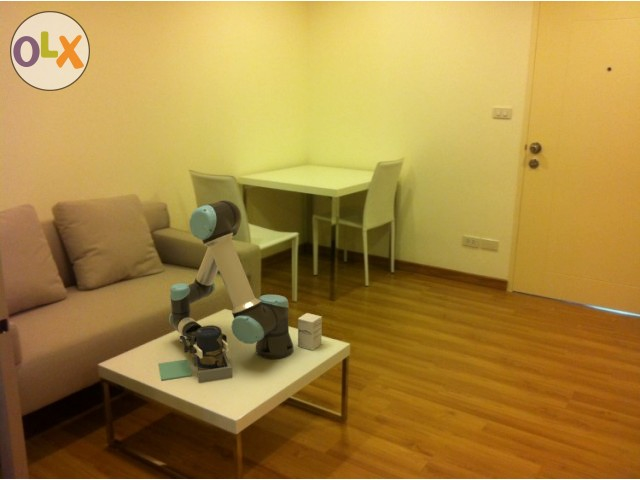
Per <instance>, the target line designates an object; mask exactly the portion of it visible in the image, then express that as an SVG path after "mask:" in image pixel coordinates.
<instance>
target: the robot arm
mask: <svg viewBox="0 0 640 480" xmlns="http://www.w3.org/2000/svg"><path fill="white" fill-rule="evenodd" d="M241 224H242V213H241V209H240V208H239V206H238V205H237V204H236V203H235V202H233V201H230V200H220V201H217V202H212V203H208V204H205V205H202V206H200V207H197V208H195V209H194V210H193V212H192V213H191V215H190V218H189V229H190V231H191V234H192V236H194V237H196V239H198V240H201V241H202V243H203V246H205V247H207V249H206V251H205V254H204V256H203V259H202V262H201V264H200V266H199V268H198V272H197V274H196V276H195V279H194V281H193V282H192V283H190V284H188V283H183V282H181V283H180V282H179V283H175V284H173V285H171V286H170V291H169V292H170V295H169V298H170V308H171V312H170V314H169V317H168V321H169V324H170V325H171V327H172V328H173V329H175V330H176V331H177V332H178V333H179V334H180V336H179V343H180V344H182V347H183V348H182V349H183V352H184V353H188V352H189V354H191V355H192V354H194V355H198V356H199V357H200V358H203V356H202V350H200V349H199V348H198V347H197V346H196V331H197V330H198V329H199V328H201V327H203V326H202V325H200V324H199V323H198V322H197V321H196V320H195V319H194V318H192V315H191V314H192V313H191V305H192V304H194V303H196V302H198V301H201V300H202V299H204V298H207V297H209V296H210V295H212V294H214V292H215V291H216V290H215V289H216V286H215V285H216V284H215V282H214V281H215V279H216V276H217V275H218V272H219V275H220V276H221V280H222V282H223V283H224V287H225V288H226V291H227V295H228V296H229V298H230V301H231V304H232V306H233V307H232V308H233V309H232V311H231V314H232V317H233V320H232V321H231V327H230V328H231V332H232V333H233V335H234V337H235V338H236V339H237V340H238V341H240V342H242V343H243V344H247V345H252V344H255V343H256V344H255V353H256V355H257V356H259V357H261V358H263V359H267V360H269V359H270V360H278V359H283V358H286V357H289V356H290V355H292V354H293V352H294V344H293V343H294V342H293V340H292V338H291V335H290V332H289V329H290V328H289V327H290V326H289V325H290V324H289V318H290V317H289V314H290V313H289V312H290V310H289V309H290V306H289V300H288V298H287V297H286V296H284V295H283V296H282V295H279V294H264V295H261V296H259V297H258V298H256V297H255V295H254V291H253V289H252V286H251V284H250V282H249V280H248V278H247V274H246V272H245V269H244V267H243V265H242V263H241V260H240V257H239V254H238V252H237V250H236V247H235V246H234V243H233V240H232V239H233V237H235V236H237V234H238V233H239V230H240V227H241ZM227 339H228V338H227V335H226V334H225V333H222V345H223V351H225V352H228V351H229V344H228V342H227V341H228V340H227ZM188 342H189V345H188Z"/></svg>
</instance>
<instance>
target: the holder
mask: <svg viewBox="0 0 640 480" xmlns="http://www.w3.org/2000/svg"><path fill="white" fill-rule="evenodd" d="M192 364H193V367H198V362H197V355H196V354H194V355H192ZM232 378H233V368H232V365H231V362H230V360H229V358H228V355H227V353H226V350H223V367H222V368H216V369H209V370H203V371H198V370H197V382H198V384H201V383H205V382H212V381H218V380H226V379H232Z"/></svg>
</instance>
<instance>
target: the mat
mask: <svg viewBox="0 0 640 480" xmlns="http://www.w3.org/2000/svg"><path fill="white" fill-rule="evenodd" d="M158 368H159V374H160V379H161V382H164V381H168V380H169V381H170V380H171V381H172V380H176V379H177V380H178V379H181V378H189V377H190V378H191V377H193V373H192V368H191V365H190V361H189V358H187V359H180V360H173V361H167V362H159V363H158Z"/></svg>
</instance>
